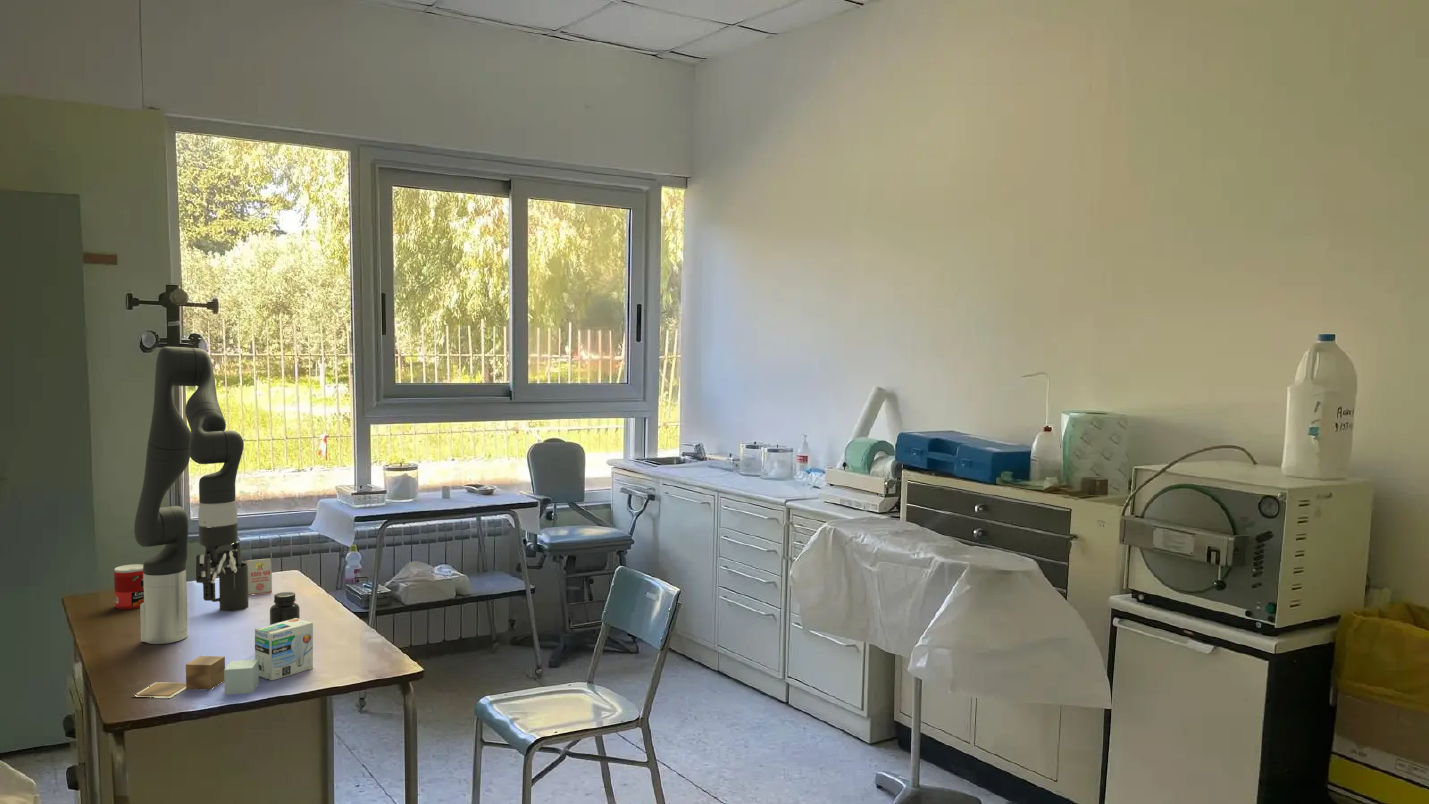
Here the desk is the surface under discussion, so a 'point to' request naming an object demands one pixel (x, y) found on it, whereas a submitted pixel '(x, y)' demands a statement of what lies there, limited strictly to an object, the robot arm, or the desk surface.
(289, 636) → the light bulb box
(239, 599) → the mug
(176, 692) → the swatch
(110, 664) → the desk surface
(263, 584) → the beige rectangular box
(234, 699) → the desk surface
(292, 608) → the supplement bottle
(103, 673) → the desk surface
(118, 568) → the canned food
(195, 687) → the walnut block
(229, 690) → the pale green cube
